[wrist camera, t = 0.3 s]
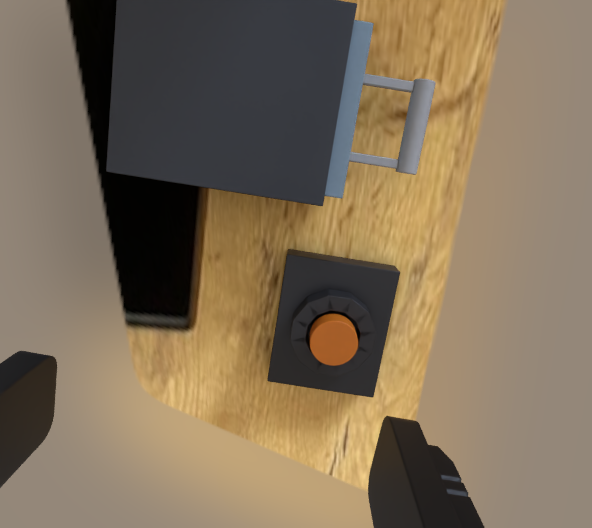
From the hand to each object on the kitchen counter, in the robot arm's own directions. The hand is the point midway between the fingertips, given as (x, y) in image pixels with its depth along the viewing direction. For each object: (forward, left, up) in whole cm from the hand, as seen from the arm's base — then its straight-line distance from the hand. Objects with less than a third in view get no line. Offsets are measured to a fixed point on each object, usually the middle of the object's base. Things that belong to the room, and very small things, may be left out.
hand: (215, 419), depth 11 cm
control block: (+6, +5, -27) cm, 29 cm away
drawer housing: (-10, -4, -27) cm, 29 cm away
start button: (+6, +5, -24) cm, 25 cm away
